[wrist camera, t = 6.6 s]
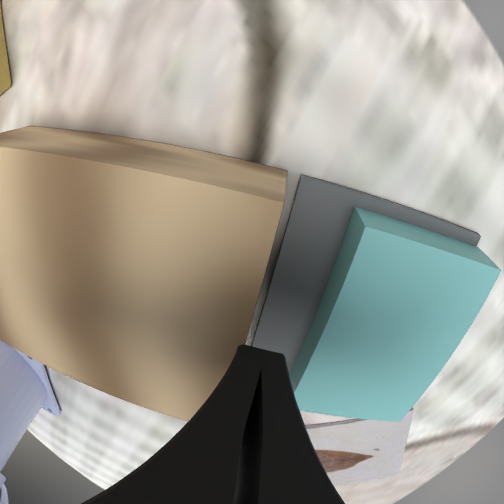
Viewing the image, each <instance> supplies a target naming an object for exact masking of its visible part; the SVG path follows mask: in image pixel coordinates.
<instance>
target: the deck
mask: <svg viewBox="0 0 504 504" xmlns="http://www.w3.org/2000/svg"><path fill="white" fill-rule="evenodd" d="M287 173H288V171H286V170H282V169H279V168H275V167H271V166H267V165H262V164H258V163H254V162H250V161H246V160H241V159H237V158H233V157H228V156H224V155H219V154H214V153H209V152H205V151H200V150H195V149H190V148H185V147H179V146H174V145H169V144H163V143H157V142H152V141H146V140H140V139H133V138H127V137H120V136H114V135H106V134H99V133H91V132H83V131H75V130H66V129H57V128H46V127H35V126H28V127H23V128H19V129H15V130H10V131H6V132H2V133H0V340H1V341H3V342H5V343H6V344H8V345H10V346H11V347H13V348H15V349H16V350H18V351H20V352H22V353H24V354H25V355H27V356H29V357H31V358H33V359H35V360H37V361H38V362H40V363H42V364H44V365H46V366H48V367H50V368H52V369H54V370H56V371H58V372H60V373H62V374H64V375H66V376H69V377H71V378H73V379H75V380H77V381H79V382H82V383H84V384H86V385H88V386H91V387H93V388H95V389H98V390H100V391H103V392H105V393H107V394H110V395H112V396H115V397H117V398H120V399H123V400H125V401H128V402H131V403H133V404H136V405H139V406H142V407H144V408H147V409H150V410H153V411H156V412H159V413H162V414H165V415H168V416H172V417H175V418H178V419H181V420H185V421H189V420H190V419H191V418H192V417H193V416H194V415H195V413H196V412H197V411H198V410H199V409H200V407H201V406H202V405H203V404H204V402H205V401H206V400H207V399H208V398H209V396H210V395H211V394H212V392H213V391H214V389H215V388H216V386H217V385H218V383H219V382H220V381H221V379H222V378H223V376H224V374H225V373H226V371H227V369H228V368H229V366H230V364H231V362H232V360H233V358H234V356H235V354H236V351H237V348H238V346H239V345H242V344H244V345H245V342H246V338H247V335H248V331H249V328H250V324H251V321H252V317H253V314H254V310H255V307H256V303H257V300H258V296H259V293H260V289H261V285H262V282H263V278H264V275H265V271H266V268H267V264H268V260H269V257H270V253H271V249H272V246H273V242H274V239H275V235H276V231H277V228H278V224H279V220H280V216H281V213H282V209H283V205H284V200H285V191H286V182H287Z"/></svg>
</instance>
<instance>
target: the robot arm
mask: <svg viewBox="0 0 504 504" xmlns="http://www.w3.org/2000/svg"><path fill="white" fill-rule="evenodd" d="M40 408H43V409H45V410H46V411H48V412H50V413H52V414H54V415H56V416H59V415H60V414H61V411H60V409H59V406H58V404H57V401H56V399H55V396H54V393H53V390H52V388H51V385H50V382H49V379H48V376H47V373H46V370H45V367H44V364H42V363H40V362H38V361H37V360H35V359H33V358H31V357H29V356H27V355H25V354H24V353H22V352H20V351H18V350H16V349H15V348H13V347H11V346H10V345H8V344H6V343H5V342H3V341H1V340H0V472H1V470H2V468H3V467H4V465H5V463H6V462H7V460H8V458H9V457H10V455H11V453H12V452H13V450H14V449H15V447H16V445H17V444H18V442H19V441H20V439H21V437H22V436H23V434H24V433H25V431H26V430H27V428H28V426H29V425H30V423H31V422H32V420H33V419H34V417H35V416H36V414H37V413H38V411H39V410H40ZM5 480H6V478H5V477H4V476H3V475H2V474H1V473H0V504H8V496H7V490H6V487H5V485H4V484H3V483H4V482H5ZM82 504H345V503H344V501H343V500H342V498H341V497H340V495H339V494H338V492H337V491H336V489H335V487H334V486H333V484H332V482H331V480H330V479H329V477H328V475H327V473H326V471H325V469H324V468H323V466H322V464H321V462H320V460H319V458H318V456H317V453H316V451H315V449H314V447H313V445H312V442H311V440H310V437H309V435H308V433H307V430H306V427H305V425H304V422H303V420H302V417H301V414H300V411H299V408H298V405H297V402H296V399H295V395H294V392H293V388H292V385H291V381H290V377H289V372H288V368H287V363H286V357H285V356H284V354H282V353H277V352H273V351H269V350H264V349H260V348H256V347H252V346H248V345H244V344H242V345H239V346H238V348H237V351H236V354H235V356H234V358H233V360H232V362H231V364H230V366H229V368H228V369H227V371H226V373H225V374H224V376H223V378H222V379H221V381H220V382H219V383H218V385H217V386H216V388H215V389H214V391H213V392H212V394H211V395H210V396H209V398H208V399H207V400H206V401H205V402H204V404H203V405H202V406H201V407H200V409H199V410H198V411H197V412H196V413H195V415H194V416H193V417H192V418H191V419H190V420H189V421H188V422H187V424H186V425H185V426H184V427H183V428H182V429H181V430H180V431H179V432H178V433H177V434H176V435H175V436H174V437H173V438H172V439H171V440H170V441H169V442H168V443H167V444H165V445H164V446H163V447H162V448H161V449H160V450H159V451H158V452H156V453H155V454H154V455H153V456H152V457H151V458H149V459H148V460H147V461H146V462H145V463H143V464H142V465H141V466H139V467H138V468H137V469H135V470H134V471H133V472H131V473H130V474H128V475H127V476H126V477H124V478H123V479H121V480H120V481H118V482H117V483H116V484H114V485H113V486H111V487H109V488H108V489H106V490H105V491H103V492H101V493H99V494H98V495H96V496H94V497H92V498H91V499H89V500H87V501H85V502H83V503H82Z"/></svg>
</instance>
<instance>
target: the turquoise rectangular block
mask: <svg viewBox="0 0 504 504" xmlns="http://www.w3.org/2000/svg"><path fill="white" fill-rule="evenodd" d="M500 272H501V270H500V269H499V268H498V267H497V266H496V265H495V264H494V262H493V261H492V260H491V259H490V258H489V257H488V256H487V255H486V254H485V253H484V252H483V251H482V250H480V249H479V248H478V247H475V246H472V245H470V244H467V243H464V242H461V241H459V240H456V239H453V238H450V237H447V236H445V235H442V234H439V233H436V232H433V231H430V230H427V229H424V228H421V227H418V226H415V225H412V224H409V223H406V222H403V221H400V220H397V219H393V218H390V217H387V216H384V215H381V214H377V213H374V212H371V211H367V210H364V209H361V208H357V207H355V208H354V211H353V214H352V217H351V219H350V222H349V225H348V228H347V231H346V234H345V237H344V240H343V243H342V245H341V248H340V251H339V254H338V257H337V259H336V262H335V265H334V267H333V270H332V273H331V276H330V278H329V281H328V283H327V286H326V289H325V291H324V294H323V296H322V299H321V302H320V304H319V307H318V309H317V312H316V314H315V317H314V319H313V321H312V324H311V326H310V329H309V331H308V334H307V336H306V338H305V341H304V343H303V345H302V348H301V350H300V352H299V355H298V357H297V359H296V362H295V364H294V366H293V369H292V371H291V373H290V375H289V377H290V381H291V385H292V388H293V392H294V395H295V399H296V402H297V405H298V408H299V410H300V411H306V412H313V413H319V414H326V415H333V416H341V417H349V418H357V419H367V420H378V421H390V422H400V421H401V420H402V419H403V418H404V416H405V415H406V414H407V413H408V412H409V410H410V409H411V408H412V407H413V406H414V404H415V403H416V402H417V401H418V400H419V398H420V397H421V396H422V395H423V393H424V392H425V391H426V389H427V388H428V387H429V386H430V384H431V383H432V382H433V380H434V379H435V378H436V376H437V375H438V374H439V372H440V371H441V369H442V368H443V367H444V365H445V364H446V362H447V361H448V360H449V358H450V357H451V355H452V354H453V352H454V351H455V349H456V348H457V346H458V345H459V343H460V342H461V340H462V339H463V337H464V336H465V334H466V332H467V331H468V329H469V328H470V326H471V324H472V323H473V321H474V319H475V318H476V316H477V314H478V313H479V311H480V309H481V307H482V306H483V304H484V302H485V300H486V298H487V297H488V295H489V293H490V291H491V289H492V287H493V285H494V284H495V282H496V280H497V278H498V276H499V274H500Z"/></svg>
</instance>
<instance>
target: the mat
mask: <svg viewBox="0 0 504 504" xmlns="http://www.w3.org/2000/svg"><path fill="white" fill-rule="evenodd" d="M355 207H357V208H361V209H364V210H367V211H371V212H374V213H377V214H381V215H384V216H387V217H390V218H393V219H397V220H400V221H403V222H406V223H409V224H412V225H415V226H418V227H421V228H424V229H427V230H430V231H433V232H436V233H439V234H442V235H445V236H447V237H450V238H453V239H456V240H459V241H461V242H464V243H467V244H470V245H472V246H475V247H476V246H477V244H478V242H479V240H480V237H481V236H480V235H479V234H478V233H476V232H473V231H471V230H468V229H466V228H463V227H460V226H458V225H455V224H453V223H450V222H447V221H445V220H442V219H439V218H437V217H434V216H431V215H429V214H426V213H423V212H420V211H417V210H415V209H412V208H409V207H406V206H403V205H400V204H397V203H394V202H391V201H388V200H385V199H382V198H379V197H376V196H373V195H370V194H367V193H363V192H360V191H357V190H354V189H350V188H347V187H344V186H340V185H337V184H334V183H330V182H327V181H323V180H320V179H316V178H312V177H309V176H305V175H301V177H300V181H299V185H298V188H297V192H296V196H295V199H294V203H293V206H292V210H291V213H290V217H289V221H288V224H287V228H286V231H285V235H284V238H283V242H282V245H281V249H280V252H279V256H278V259H277V263H276V266H275V269H274V273H273V276H272V280H271V283H270V286H269V290H268V293H267V297H266V300H265V303H264V307H263V310H262V313H261V317H260V320H259V323H258V326H257V330H256V333H255V336H254V340H253V343H252V347H256V348H260V349H264V350H269V351H273V352H277V353H282V354H284V356H285V357H286V363H287V368H288V372H289V375H290V373H291V371H292V369H293V366H294V364H295V362H296V359H297V357H298V355H299V352H300V350H301V348H302V345H303V343H304V341H305V338H306V336H307V334H308V331H309V329H310V326H311V324H312V321H313V319H314V317H315V314H316V312H317V309H318V307H319V304H320V302H321V299H322V296H323V294H324V291H325V289H326V286H327V283H328V281H329V278H330V276H331V273H332V270H333V267H334V265H335V262H336V259H337V257H338V254H339V251H340V248H341V245H342V243H343V240H344V237H345V234H346V231H347V228H348V225H349V222H350V219H351V217H352V214H353V211H354V208H355Z"/></svg>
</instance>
